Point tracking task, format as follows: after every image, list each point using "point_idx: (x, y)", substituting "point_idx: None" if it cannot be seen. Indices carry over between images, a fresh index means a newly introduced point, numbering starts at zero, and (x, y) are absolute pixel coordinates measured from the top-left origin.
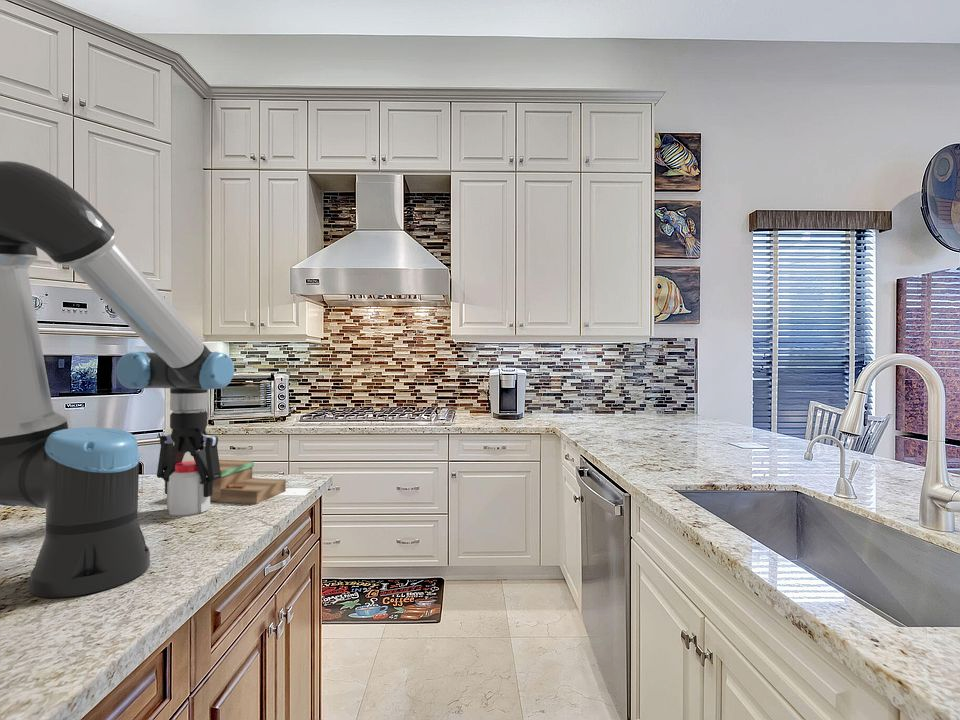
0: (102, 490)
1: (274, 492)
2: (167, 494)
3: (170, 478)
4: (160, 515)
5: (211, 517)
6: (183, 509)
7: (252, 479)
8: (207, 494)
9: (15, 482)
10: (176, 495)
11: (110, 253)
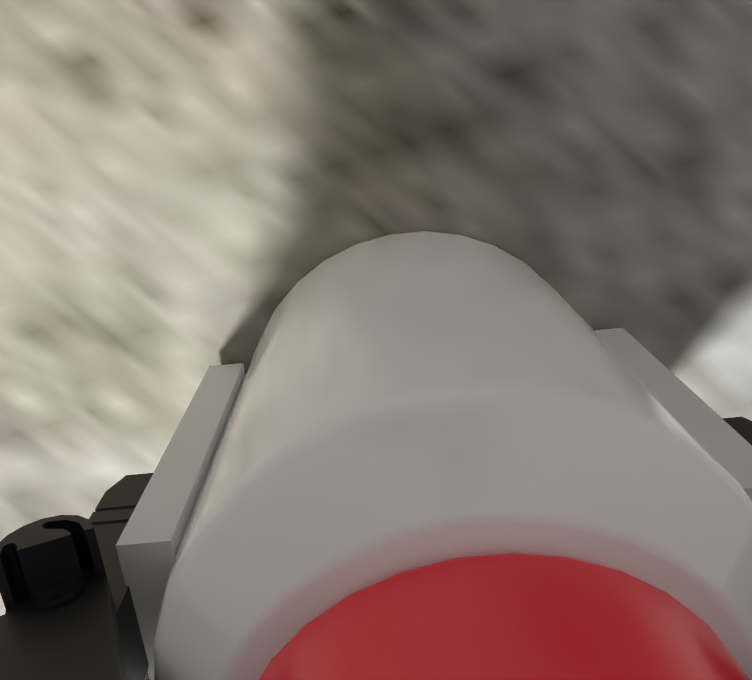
0: None
1: None
2: (689, 396)
3: (613, 403)
4: (563, 192)
5: (5, 300)
6: (323, 276)
7: None
8: (116, 494)
9: None
10: (407, 294)
11: None
